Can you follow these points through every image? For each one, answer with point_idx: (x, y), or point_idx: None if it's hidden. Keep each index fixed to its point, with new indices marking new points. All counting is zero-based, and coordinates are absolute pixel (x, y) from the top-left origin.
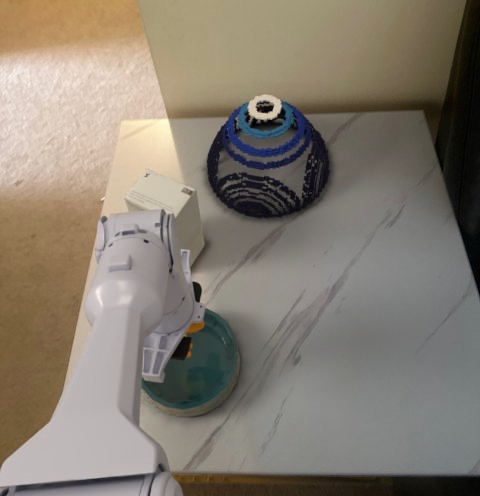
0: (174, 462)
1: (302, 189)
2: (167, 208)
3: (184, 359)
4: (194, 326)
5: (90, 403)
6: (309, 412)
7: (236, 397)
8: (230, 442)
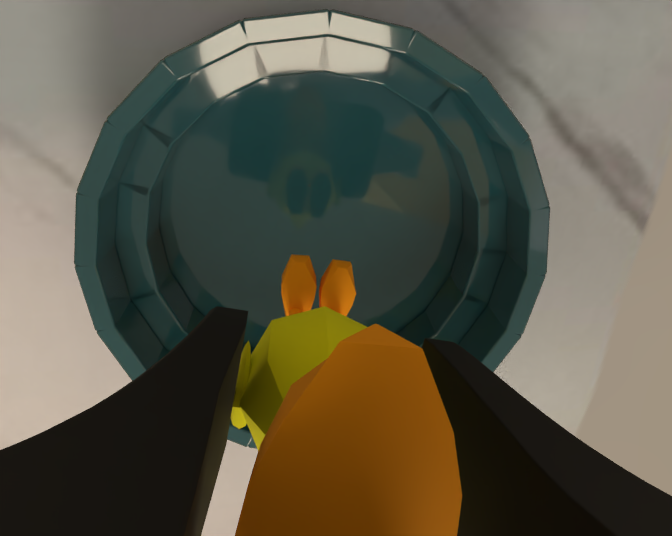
0: (621, 264)
1: None
2: None
3: (459, 346)
4: (408, 443)
5: None
6: None
7: (456, 41)
8: (612, 73)
